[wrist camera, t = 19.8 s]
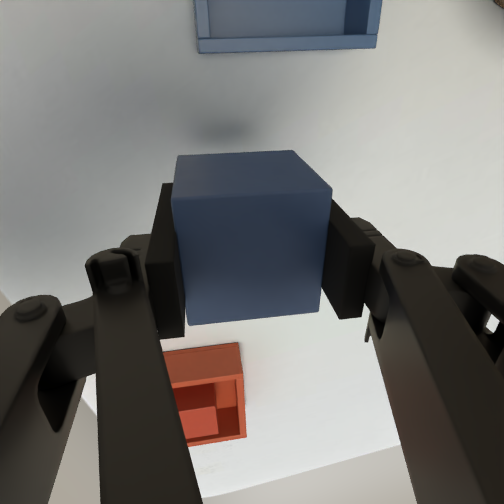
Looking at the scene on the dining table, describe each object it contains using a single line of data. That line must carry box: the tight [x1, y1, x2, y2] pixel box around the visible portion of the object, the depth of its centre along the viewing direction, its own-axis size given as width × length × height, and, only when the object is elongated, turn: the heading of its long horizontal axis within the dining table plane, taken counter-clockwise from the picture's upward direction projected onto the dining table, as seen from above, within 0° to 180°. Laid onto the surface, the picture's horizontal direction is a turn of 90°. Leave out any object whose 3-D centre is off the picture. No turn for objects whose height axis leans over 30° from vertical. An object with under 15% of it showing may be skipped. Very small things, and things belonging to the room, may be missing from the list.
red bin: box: [163, 343, 247, 447], centre depth 41 cm, size 12×12×5 cm
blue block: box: [171, 150, 333, 326], centre depth 14 cm, size 5×5×5 cm
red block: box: [172, 383, 219, 439], centre depth 40 cm, size 5×5×5 cm
